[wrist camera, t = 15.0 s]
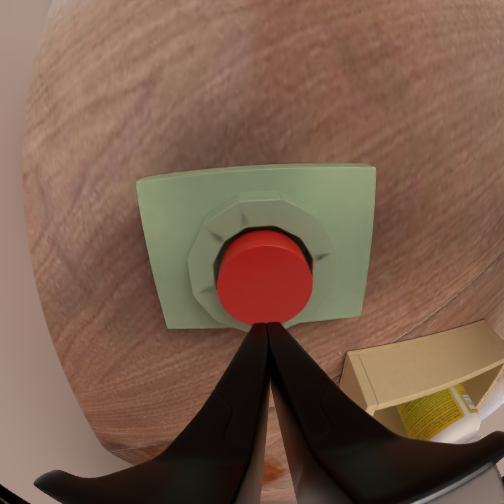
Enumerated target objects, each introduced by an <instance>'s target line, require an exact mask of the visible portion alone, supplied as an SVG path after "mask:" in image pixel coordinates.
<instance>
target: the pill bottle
mask: <svg viewBox="0 0 504 504" xmlns="http://www.w3.org/2000/svg"><path fill="white" fill-rule="evenodd" d="M395 406H396V408H397V410H398V413H399V415H400V417H401V420H402V422H403V424H404V427H405V429H406V432H407V434H408V436H409V438H412V439H418V440H425V441H433V442H442V443H452V444H467V443H472V442H476V441H478V440H481V439H482V438H481V436H479V437H477V434H476V432H477V431H478V429H479V427H480V423H481V417H480V415H479V413H478V411H477V409H476V407H475V406H474V404H473V402H472V401H471V399H470V397H469V396H468V394H467V393H466V391H465V389H464V388H463V386H462V385H461V383H459V384H457V385H454V386H452V387H449V388H446V389H444V390H441V391H438V392H436V393H433V394H430V395H427V396H424V397H421V398H418V399H415V400H412V401H408V402H405V403H402V404H398V405H395Z"/></svg>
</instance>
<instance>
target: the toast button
mask: <svg viewBox="0 0 504 504" xmlns="http://www.w3.org/2000/svg"><path fill="white" fill-rule="evenodd" d="M312 288H313V279H312V274H311V271H310V269H309V266H308V264H307V262H306V259H305V257H304V255H303V253H302V251H301V249H300V247H299V246H298V245H297V244H296V243H295V242H294V241H293V240H292V239H291V238H289V237H288V236H286V235H284V234H282V233H279V232H276V231H271V230H258V231H252V232H249V233H246V234H244V235H242V236H240V237H238V238H237V239H236V240H234V241H233V242H232V243H231V244H230V245H229V247H228V248H227V249H226V251H225V252H224V254H223V257H222V260H221V264H220V270H219V275H218V281H217V292H218V297H219V300H220V302H221V304H222V306H223V307H224V309H225V310H226V311H227V312H228V313H229V314H230V315H231V316H232V317H234V318H235V319H237V320H238V321H240V322H243V323H245V324H248V325H253V324H254V323H261V322H265V323H266V325H267V322H275V321H278V322H280V323H281V324H282V323H284V322H287V321H289V320H290V319H292V318H294V317H295V316H296V315H298V314H299V313H300V312H301V311H302V310H303V309H304V307H305V306H306V304H307V303H308V301H309V299H310V296H311V293H312Z"/></svg>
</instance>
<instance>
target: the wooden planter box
mask: <svg viewBox="0 0 504 504" xmlns="http://www.w3.org/2000/svg"><path fill="white" fill-rule="evenodd" d="M503 370H504V341H503V340H502V339H501V338H500V336H499V335H498V334H497V333H496V332H495V331H494V330H493V329H492V327H491V326H490V325H489V324H488V323H487V322H486V321H485V320H481V321H478V322H474V323H471V324H468V325H465V326H461V327H458V328H454V329H451V330H447V331H443V332H440V333H436V334H432V335H428V336H424V337H420V338H415V339H411V340H407V341H402V342H397V343H392V344H387V345H382V346H377V347H371V348H366V349H360V350H354V351H347V353H346V358H345V363H344V367H343V372H342V376H341V380H340V384H339V388H340V389H341V390H342V391H343V392H344V393H345V394H346V395H347V396H348V397H349V398H350V399H351V400H353V401H354V402H355V403H356V404H357V405H358V406H360V407H361V408H362V409H363V410H365V411H366V412H367V413H368V414H370V415H371V416H372V417H373V418H375V419H376V420H377V421H379V422H380V423H381V424H382V425H384V426H385V427H386V428H388V429H389V430H391V431H392V432H394V433H396V434H398V435H400V436H403V437H406V438H409V436H408V434H407V432H406V429H405V427H404V424H403V422H402V420H401V417H400V415H399V413H398V410H397V408H396V406H395V405H398V404H402V403H405V402H408V401H412V400H415V399H418V398H421V397H424V396H427V395H430V394H433V393H436V392H438V391H441V390H444V389H446V388H449V387H452V386H454V385H457V384H459V383H461V385H462V386H463V388H464V389H465V391H466V393H467V394H468V396H469V397H470V399H471V401H472V402H473V404H474V406H475V407H476V409H477V408H478V407H479V405H480V404H481V403H482V401H483V400H484V399H485V397H486V396H487V394H488V393H489V391H490V390H491V389H492V387H493V386H494V384H495V383H496V381H497V380H498V378H499V376H500V375H501V373H502V372H503Z"/></svg>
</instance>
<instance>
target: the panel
mask: <svg viewBox="0 0 504 504" xmlns="http://www.w3.org/2000/svg"><path fill="white" fill-rule="evenodd" d="M135 185H136V191H137V197H138V204H139V209H140V215H141V220H142V226H143V231H144V236H145V241H146V246H147V250H148V255H149V259H150V264H151V268H152V272H153V277H154V281H155V285H156V289H157V293H158V296H159V300H160V304H161V308H162V311H163V315H164V318H165V322H166V325H167V328H168V329H206V328H237V329H239V330H242V331H245V332H249V330H250V329H251V327H252V325H248V324H245V323H243V322H240V321H238V320H237V319H235V318H234V317H232V316H231V315H230V314H229V313H228V312H227V311H226V310H225V309H224V307H223V306H222V304H221V302H220V300H219V297H218V292H217V281H218V275H219V270H220V264H221V260H222V257H223V254H224V252H225V251H226V249H227V248H228V247H229V245H230V244H231V243H232V242H233V241H234V240H236V239H237V238H238V237H240V236H242V235H244V234H246V233H249V232H252V231H258V230H271V231H276V232H279V233H282V234H284V235H286V236H288V237H289V238H291V239H292V240H293V241H294V242H295V243H296V244H297V245H298V246H299V247H300V249H301V251H302V253H303V255H304V257H305V259H306V262H307V264H308V266H309V269H310V271H311V274H312V279H313V288H312V293H311V296H310V299H309V301H308V303H307V304H306V306H305V307H304V309H303V310H302V311H301V312H300V313H299V314H298V315H296V316H295V317H294V318H292V319H290V320H289V321H287V322H284V323H282V325H283V327H284V328H285V329H287V328H289V327H291V326H293V325H295V324H297V323H305V322H315V321H324V320H333V319H341V318H349V317H357V316H361V312H362V306H363V300H364V294H365V288H366V281H367V274H368V267H369V259H370V250H371V241H372V231H373V219H374V205H375V187H376V168H375V167H372V166H369V165H366V164H363V163H293V164H268V165H250V166H236V167H223V168H212V169H202V170H193V171H184V172H176V173H168V174H160V175H153V176H147V177H145V178H143V179H141V180H138V181H137V182H135Z"/></svg>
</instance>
